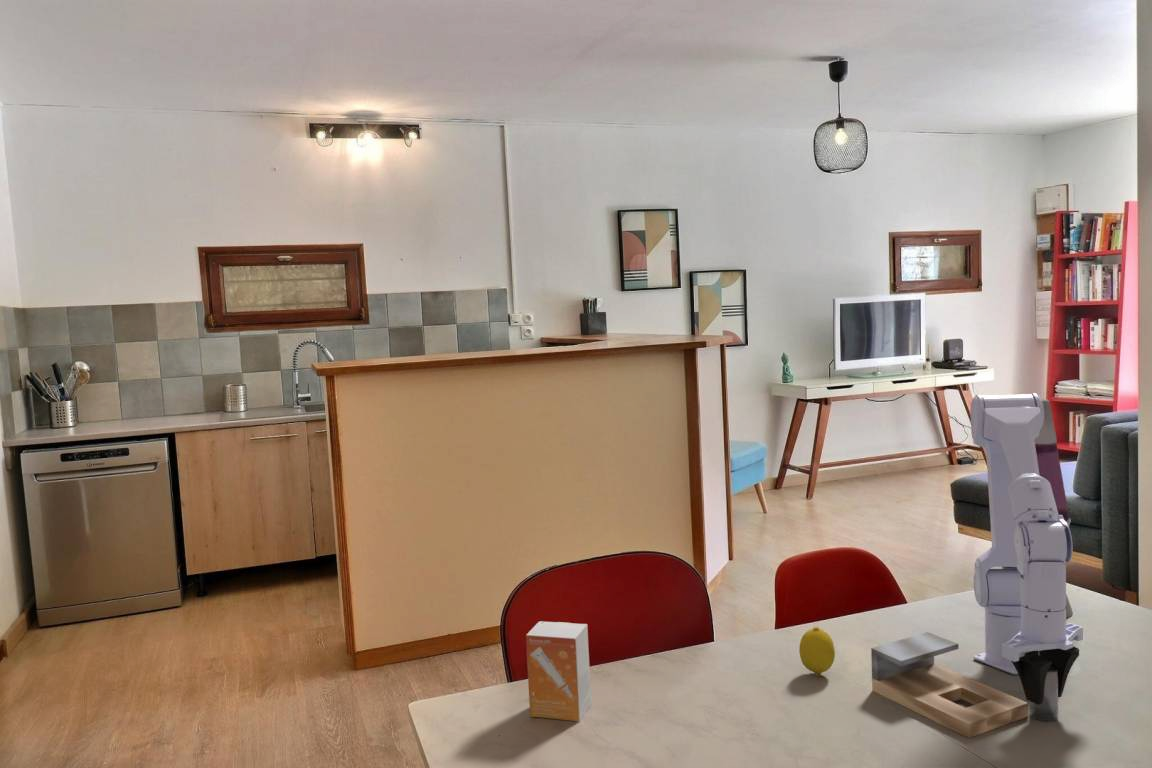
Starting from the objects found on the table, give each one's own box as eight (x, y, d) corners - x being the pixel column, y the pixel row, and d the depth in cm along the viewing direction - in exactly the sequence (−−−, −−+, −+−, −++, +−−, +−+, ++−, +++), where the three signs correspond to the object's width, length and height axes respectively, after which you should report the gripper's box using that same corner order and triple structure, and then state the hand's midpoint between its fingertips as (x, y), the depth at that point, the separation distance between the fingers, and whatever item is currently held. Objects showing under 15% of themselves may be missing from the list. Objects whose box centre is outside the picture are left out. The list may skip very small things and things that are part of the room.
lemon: (836, 682, 143) (835, 634, 142) (800, 681, 144) (799, 633, 143) (833, 668, 148) (832, 621, 147) (799, 667, 149) (798, 620, 149)
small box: (529, 718, 136) (524, 634, 135) (543, 699, 142) (538, 619, 141) (580, 722, 134) (575, 638, 133) (592, 704, 140) (588, 622, 139)
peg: (1040, 707, 131) (1040, 661, 130) (1063, 717, 127) (1063, 669, 127) (1024, 714, 129) (1023, 667, 129) (1046, 723, 126) (1046, 675, 125)
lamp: (1001, 600, 176) (999, 397, 172) (1060, 600, 174) (1059, 395, 170) (1018, 619, 165) (1016, 404, 162) (1082, 620, 163) (1081, 402, 160)
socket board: (928, 673, 144) (927, 632, 144) (1028, 716, 128) (1027, 670, 128) (872, 690, 139) (871, 648, 139) (969, 738, 123) (968, 690, 123)
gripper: (1034, 623, 120) (1034, 721, 121) (1103, 603, 126) (1103, 696, 128) (989, 609, 126) (990, 702, 128) (1057, 590, 133) (1057, 678, 134)
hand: (1043, 698), depth 128 cm, fingers closed on peg, 4 cm apart
